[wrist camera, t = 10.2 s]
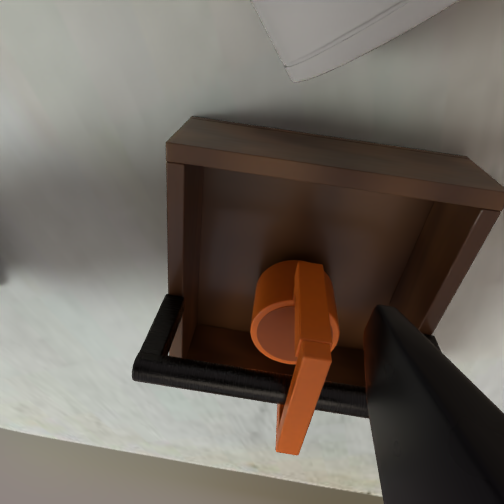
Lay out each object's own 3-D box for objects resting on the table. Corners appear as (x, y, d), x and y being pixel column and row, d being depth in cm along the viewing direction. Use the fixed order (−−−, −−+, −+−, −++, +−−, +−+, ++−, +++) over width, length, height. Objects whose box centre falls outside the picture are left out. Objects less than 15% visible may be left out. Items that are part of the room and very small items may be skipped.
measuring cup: (251, 313, 23) (232, 452, 16) (266, 224, 19) (249, 348, 12) (323, 325, 23) (338, 469, 15) (351, 237, 19) (386, 370, 12)
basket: (186, 325, 26) (169, 377, 22) (191, 115, 18) (165, 141, 14) (375, 355, 26) (388, 412, 22) (467, 156, 18) (512, 193, 14)
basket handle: (166, 308, 19) (132, 386, 15) (165, 291, 18) (130, 368, 14) (426, 349, 19) (461, 439, 15) (435, 333, 18) (475, 423, 14)
